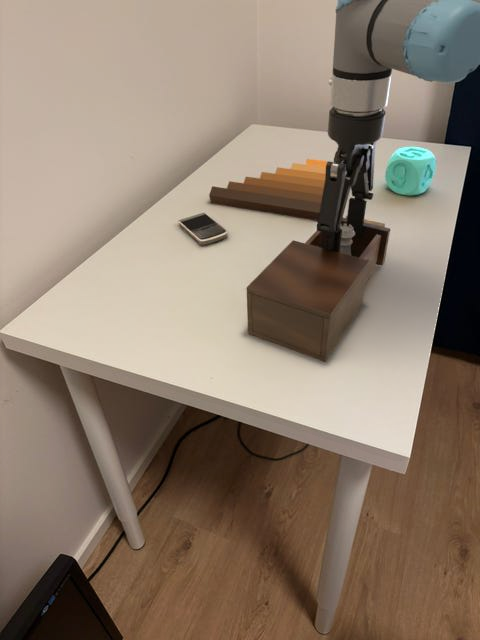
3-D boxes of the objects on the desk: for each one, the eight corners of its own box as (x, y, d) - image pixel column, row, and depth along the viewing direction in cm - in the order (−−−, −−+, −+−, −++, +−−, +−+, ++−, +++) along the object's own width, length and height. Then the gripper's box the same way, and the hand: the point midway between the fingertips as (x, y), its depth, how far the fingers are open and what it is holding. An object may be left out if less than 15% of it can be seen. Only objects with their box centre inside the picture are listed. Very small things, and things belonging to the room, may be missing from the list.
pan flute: (209, 204, 107) (319, 222, 99) (208, 189, 105) (321, 207, 97) (252, 162, 124) (348, 174, 116) (251, 149, 122) (350, 161, 114)
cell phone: (202, 248, 93) (201, 241, 92) (176, 225, 100) (176, 219, 99) (229, 238, 95) (229, 232, 94) (203, 216, 102) (202, 210, 101)
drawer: (334, 234, 93) (337, 202, 89) (393, 249, 88) (399, 215, 84) (291, 284, 81) (292, 249, 77) (356, 304, 76) (361, 268, 72)
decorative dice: (431, 186, 110) (439, 151, 104) (415, 199, 105) (423, 163, 100) (399, 177, 114) (405, 143, 109) (382, 189, 109) (387, 154, 104)
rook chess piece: (324, 274, 81) (328, 232, 76) (330, 260, 84) (334, 219, 79) (351, 279, 80) (357, 236, 75) (356, 264, 83) (361, 222, 78)
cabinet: (291, 283, 83) (292, 239, 77) (362, 305, 77) (369, 260, 72) (247, 333, 73) (246, 287, 68) (325, 362, 68) (330, 314, 62)
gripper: (360, 84, 74) (346, 215, 89) (295, 129, 60) (291, 277, 74) (409, 89, 71) (386, 224, 85) (353, 138, 57) (336, 291, 71)
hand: (341, 249), depth 80 cm, fingers open, 10 cm apart
